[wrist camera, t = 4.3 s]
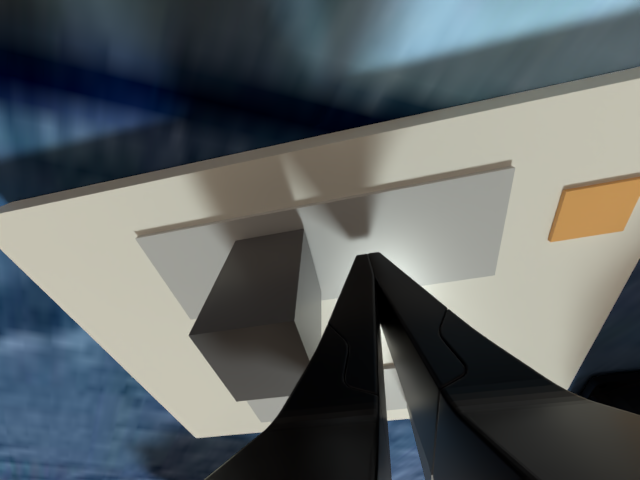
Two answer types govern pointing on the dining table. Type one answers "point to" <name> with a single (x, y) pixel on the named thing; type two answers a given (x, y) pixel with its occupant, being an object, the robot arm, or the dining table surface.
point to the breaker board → (362, 235)
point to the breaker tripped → (262, 316)
